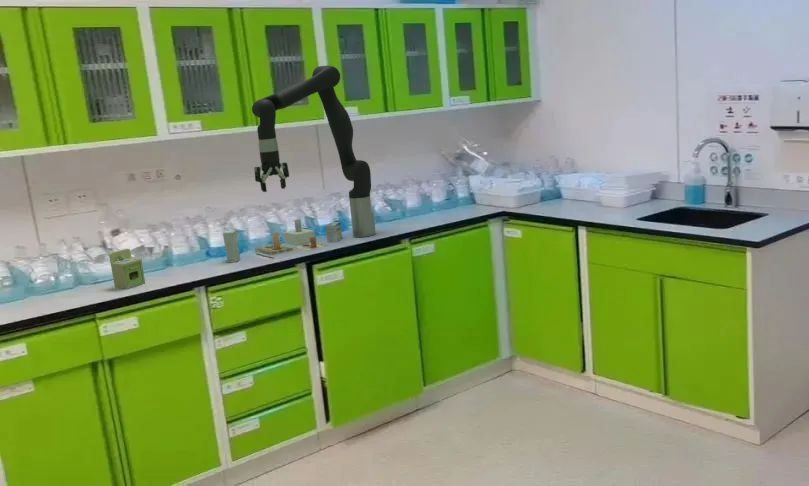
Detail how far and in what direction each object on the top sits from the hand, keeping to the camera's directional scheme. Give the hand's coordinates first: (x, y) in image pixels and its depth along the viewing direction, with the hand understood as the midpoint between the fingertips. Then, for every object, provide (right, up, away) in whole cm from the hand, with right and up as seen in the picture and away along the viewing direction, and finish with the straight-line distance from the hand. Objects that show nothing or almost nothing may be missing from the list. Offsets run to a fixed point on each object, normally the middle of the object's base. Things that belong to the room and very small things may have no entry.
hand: (274, 190), depth 308 cm
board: (+14, -24, +7) cm, 29 cm away
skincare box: (-16, -29, -1) cm, 33 cm away
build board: (-1, -26, +5) cm, 26 cm away
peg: (+1, -26, +2) cm, 26 cm away
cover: (+8, -22, +19) cm, 30 cm away
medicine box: (+23, -22, +16) cm, 36 cm away
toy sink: (-48, -37, -29) cm, 67 cm away
